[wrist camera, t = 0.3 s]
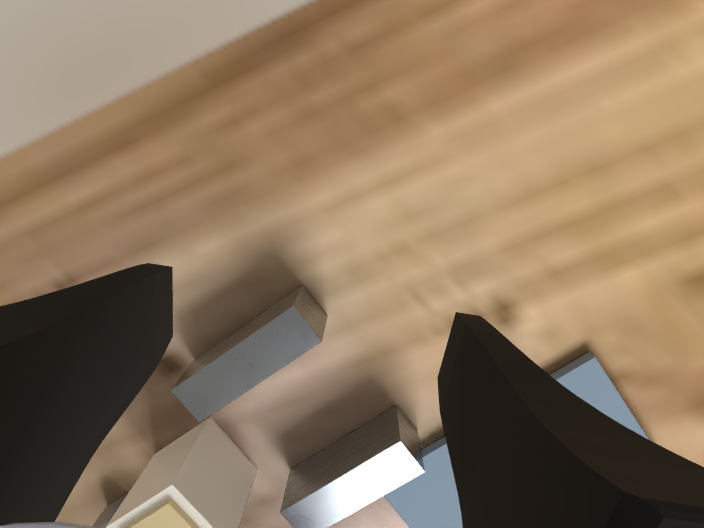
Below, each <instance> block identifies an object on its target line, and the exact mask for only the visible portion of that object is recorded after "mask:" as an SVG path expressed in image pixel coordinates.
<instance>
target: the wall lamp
mask: <svg viewBox="0 0 704 528" xmlns="http://www.w3.org/2000/svg"><path fill="white" fill-rule="evenodd" d="M257 470H258V469H257V468H256V467H255V466H254V465H253V464H252V463H251V462H250V461H249V459H248V458H247V457H246V456H245V455H244V454H243V453H242V452H241V450H240V449H239V448H238V447H237V446H236V445H235V444H234V443H233V441H232V440H231V439H230V438H229V437H228V436H227V435H226V434H225V432H224V431H223V430H222V429H221V428H220V427H219V426H218V425H217V424H216V422H215V421H214V420H213V419H212V418H211V417H209V418H208V419H206V420H205V421H203V422H202V423H200V424H199V425H197V426H196V427H194V428H193V429H191V430H190V431H188V432H187V433H185V434H184V435H182V436H181V437H179V438H178V439H176V440H175V441H173V442H172V443H170V444H169V445H167V446H166V447H164V448H163V449H161V450H160V451H158V452H157V453H155V454H154V456H153V457H152V459H151V460H150V462H149V463H148V465H147V466H146V468H145V469H144V471H143V472H142V474H141V475H140V477H139V478H138V480H137V481H136V482H135V484H134V485H133V487H132V488H131V490H130V491H129V493H128V492H127V493H126V494H124V495H123V496H121V497H120V498H118V499H117V500H115V501H114V502H112V503H111V504H109V505H108V506H107V507H106V508H105V509H104V511H103V512H102V514H101V515H100V516H99V518H98V519H97V521H96V522H95V523H94V525H93V526H92V527H97V528H239V525H240V522H241V519H242V516H243V512H244V509H245V506H246V503H247V500H248V497H249V494H250V491H251V488H252V485H253V482H254V479H255V476H256V473H257Z"/></svg>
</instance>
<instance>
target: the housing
mask: <svg viewBox="0 0 704 528" xmlns="http://www.w3.org/2000/svg"><path fill="white" fill-rule="evenodd" d="M326 320H327V315H326V314H325V312H324V311H323V310H322V308H321V307H320V306H319V305H318V303H317V302H316V301H315V300H314V298H313V297H312V296H311V294H310V293H309V292H308V291H307V289H306V288H305V287H304V285H301V286H300V287H298V288H297V289H296V290H294V291H293V292H291V293H290V294H288V295H287V296H286V297H284V298H283V299H281V300H280V301H278V302H277V303H275V304H274V305H273V306H271V307H270V308H268V309H267V310H265V311H264V312H263V313H261V314H260V315H258V316H257V317H255V318H254V319H253V320H251V321H250V322H248V323H247V324H245V325H244V326H243V327H241V328H240V329H238V330H237V331H235V332H234V333H233V334H231V335H230V336H228V337H227V338H225V339H224V340H222V341H221V342H220V343H218V344H217V345H215V346H214V347H212V348H211V349H210V350H208V351H207V352H205V353H204V354H202V355H201V356H200V357H198V358H197V359H195V360H194V361H193V363H192V364H191V365H190V366H189V368H188V369H187V370H186V372H185V373H184V374H183V375H182V377H181V378H180V379H179V380H178V382H177V383H176V384H175V386H174V387H173V388H172V389H171V392H172V393H173V394H174V395H175V396H176V397H177V399H178V400H179V401H180V402H181V403H182V404H183V405H184V406H185V407H186V409H187V410H188V411H189V412H190V413H191V414H192V415H193V416H194V417H195V419H196V420H197V421H198V422H199V423H200V422H201V421H203V420H204V419H206V418H207V417H209V416H210V415H212V414H213V413H215V412H216V411H218V410H219V409H221V408H223V407H224V406H226V405H227V404H229V403H230V402H232V401H233V400H235V399H236V398H238V397H239V396H241V395H242V394H244V393H245V392H247V391H248V390H250V389H251V388H253V387H254V386H256V385H257V384H259V383H260V382H262V381H263V380H265V379H266V378H268V377H269V376H271V375H272V374H274V373H275V372H277V371H278V370H280V369H281V368H283V367H284V366H286V365H287V364H289V363H290V362H292V361H293V360H295V359H296V358H298V357H299V356H301V355H302V354H304V353H305V352H307V351H308V350H310V349H311V348H313V347H314V346H316V345H317V344H319V343H320V342H322V338H323V333H324V329H325V324H326ZM424 472H425V470H424V464H423V458H422V453H421V447H420V441H419V436H418V432H417V431H416V429H415V428H414V427H413V425H412V424H411V423H410V422H409V420H408V419H407V418H406V416H405V415H404V414H403V413H402V411H401V410H400V409H399V407H398V406H397V405H395V406H393V407H392V408H390V409H388V410H387V411H385V412H384V413H382V414H380V415H379V416H377V417H375V418H374V419H372V420H371V421H369V422H367V423H366V424H364V425H362V426H361V427H359V428H357V429H356V430H354V431H353V432H351V433H349V434H348V435H346V436H344V437H343V438H341V439H340V440H338V441H336V442H335V443H333V444H331V445H330V446H328V447H326V448H325V449H323V450H322V451H320V452H318V453H317V454H315V455H313V456H312V457H310V458H309V459H307V460H305V461H304V462H302V463H300V464H299V465H297V466H295V467H294V468H292V469H291V470H290V473H289V477H288V481H287V486H286V490H285V494H284V499H283V503H282V507H281V511H280V513H281V514H282V515H283V516H284V517H285V519H286V520H287V521H288V522H289V523H290V524H291V525H292V526H293V527H294V528H328V527H330V526H332V525H333V524H335V523H337V522H338V521H340V520H342V519H344V518H345V517H347V516H349V515H351V514H352V513H354V512H356V511H358V510H359V509H361V508H363V507H365V506H366V505H368V504H370V503H372V502H373V501H375V500H377V499H379V498H380V497H382V496H384V495H385V494H387V493H389V492H391V491H392V490H394V489H396V488H398V487H399V486H401V485H403V484H405V483H406V482H408V481H410V480H412V479H413V478H415V477H417V476H419V475H420V474H422V473H424Z"/></svg>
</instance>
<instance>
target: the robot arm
mask: <svg viewBox="0 0 704 528" xmlns="http://www.w3.org/2000/svg"><path fill="white" fill-rule="evenodd" d="M172 337H173V290H172V267H169V266H163V265H156V264H150V263H147V264H142V265H137V266H134V267H130V268H127V269H124V270H121V271H118V272H115V273H112V274H109V275H106V276H103V277H100V278H97V279H93V280H90V281H87V282H84V283H81V284H78V285H75V286H72V287H69V288H66V289H62V290H59V291H55V292H52V293H49V294H45V295H42V296H39V297H35V298H32V299H28V300H24V301H21V302H17V303H13V304H9V305H5V306H0V528H97V527H90V526H84V525H77V524H70V523H64V522H55V520H56V518H57V516H58V515H59V513H60V511H61V509H62V507H63V506H64V504H65V502H66V500H67V498H68V497H69V495H70V493H71V491H72V490H73V488H74V486H75V485H76V483H77V481H78V479H79V478H80V476H81V474H82V473H83V471H84V469H85V468H86V466H87V464H88V463H89V461H90V459H91V457H92V456H93V454H94V453H95V451H96V450H97V448H98V447H99V445H100V444H101V443H102V441H103V440H104V438H105V437H106V435H107V434H108V433H109V431H110V430H111V429H112V427H113V426H114V425H115V423H116V422H117V421H118V419H119V418H120V417H121V415H122V414H123V413H124V411H125V410H126V409H127V407H128V406H129V405H130V403H131V402H132V400H133V399H134V398H135V396H136V395H137V394H138V392H139V391H140V390H141V388H142V387H143V386H144V384H145V383H146V381H147V380H148V379H149V377H150V376H151V375H152V373H153V372H154V370H155V369H156V367H157V365H158V364H159V362H160V360H161V358H162V356H163V355H164V353H165V351H166V349H167V347H168V345H169V343H170V341H171V339H172ZM438 392H439V405H440V414H441V419H442V424H443V429H444V433H445V438H446V443H447V447H448V452H449V456H450V461H451V465H452V470H453V474H454V479H455V483H456V488H457V492H458V498H459V504H460V509H461V516H462V525H463V528H704V467H702V466H700V465H698V464H696V463H694V462H692V461H690V460H687V459H685V458H683V457H681V456H679V455H677V454H675V453H673V452H671V451H669V450H667V449H665V448H663V447H661V446H659V445H658V444H656V443H654V442H652V441H650V440H648V439H646V438H645V437H643V436H641V435H639V434H638V433H636V432H634V431H632V430H631V429H629V428H627V427H625V426H624V425H622V424H620V423H618V422H617V421H615V420H613V419H612V418H610V417H608V416H607V415H605V414H604V413H602V412H601V411H599V410H598V409H596V408H595V407H593V406H592V405H590V404H589V403H587V402H586V401H584V400H583V399H581V398H580V397H578V396H577V395H575V394H574V393H572V392H571V391H570V390H568V389H567V388H566V387H564V386H563V385H562V384H560V383H559V382H558V381H557V380H555V379H554V378H553V377H551V376H550V375H549V374H548V373H546V372H545V371H544V370H543V369H541V368H540V367H539V366H538V365H537V364H535V363H534V362H533V361H532V360H531V359H529V358H528V357H527V356H526V355H525V354H524V353H523V352H521V351H520V350H519V349H518V348H517V347H516V346H515V345H513V344H512V343H511V342H510V341H509V340H508V339H507V338H506V337H505V336H503V335H502V334H501V333H500V332H499V331H498V330H497V329H496V328H494V327H493V326H492V325H491V324H490V323H489V322H487V321H486V320H485V319H483V318H482V317H481V316H477V315H470V314H464V313H458V312H456V314H455V318H454V321H453V325H452V328H451V332H450V336H449V339H448V343H447V346H446V350H445V353H444V357H443V361H442V364H441V368H440V371H439V375H438Z"/></svg>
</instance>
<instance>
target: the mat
mask: <svg viewBox="0 0 704 528" xmlns="http://www.w3.org/2000/svg"><path fill="white" fill-rule="evenodd" d="M550 376H551V377H553V378H554V379H555V380H557V381H558V382H559V383H560V384H562V385H563V386H564V387H566V388H567V389H568V390H570V391H571V392H572V393H574V394H575V395H577V396H578V397H580V398H581V399H583V400H584V401H586V402H587V403H589V404H590V405H592V406H593V407H595V408H596V409H598V410H599V411H601V412H602V413H604V414H605V415H607V416H608V417H610V418H612V419H613V420H615V421H617V422H618V423H620V424H622V425H624V426H625V427H627V428H629V429H631V430H632V431H634V432H636V433H638V434H639V435H641V436H643V437H645V438H646V439H648V438H647V436H646V435H645V433H644V431H643V430H642V428H641V427H640V425H639V424H638V422H637V421H636V419H635V418H634V416H633V414H632V413H631V411H630V410H629V408H628V407H627V405H626V404H625V402H624V401H623V399H622V397H621V396H620V394H619V393H618V391H617V390H616V388H615V387H614V385H613V384H612V382H611V380H610V379H609V377H608V376H607V374H606V373H605V371H604V370H603V368H602V367H601V365H600V363H599V362H598V360H597V359H596V357H595V356H594V355H593V354H592V353H591V352H588V353H586V354H585V355H583V356H581V357H579V358H578V359H576V360H574V361H573V362H571V363H569V364H567V365H566V366H564V367H562V368H561V369H559V370H557V371H555V372H554V373H552V374H550ZM648 440H649V439H648ZM421 453H422V458H423V464H424V470H425V472H424V473H422V474H420V475H419V476H417V477H415V478H413V479H412V480H410V481H408V482H406V483H405V484H403V485H401V486H399V487H398V488H396V489H394V490H392V491H391V492H389V493H387V494H385V495H384V497H385V498H386V500H387V501H388V502H389V503H390V504H391V506H392V507H393V508H394V509H395V511H396V512H397V513H398V514H399V515H400V517H401V518H402V519H403V520H404V521H405V523H406V524H407V525H408V526H409V527H410V528H463V525H462V516H461V509H460V504H459V498H458V492H457V488H456V483H455V479H454V474H453V470H452V465H451V461H450V456H449V452H448V447H447V443H446V438H445V436H444V437H443V438H441V439H439V440H438V441H436V442H434V443H432V444H431V445H429V446H427V447H426V448H424V449H422V450H421Z"/></svg>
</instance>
